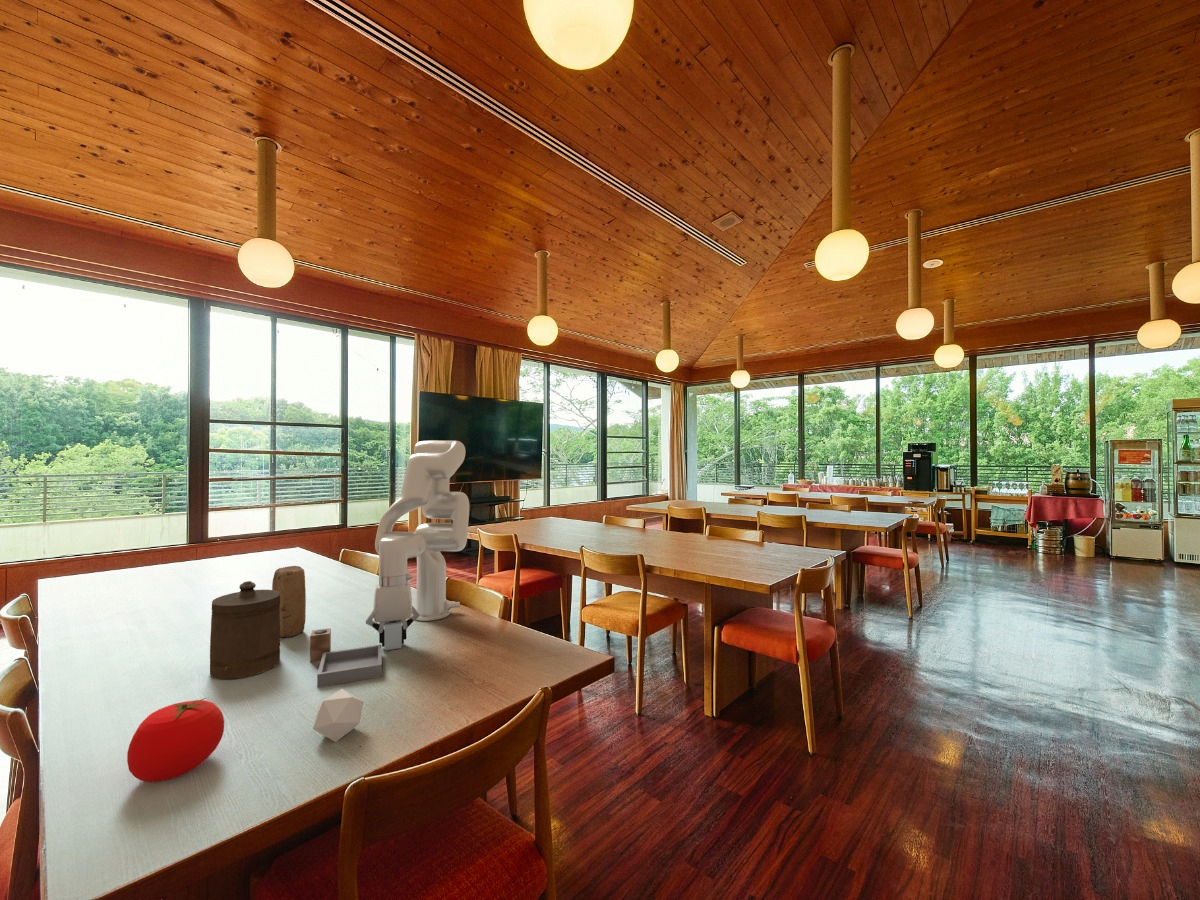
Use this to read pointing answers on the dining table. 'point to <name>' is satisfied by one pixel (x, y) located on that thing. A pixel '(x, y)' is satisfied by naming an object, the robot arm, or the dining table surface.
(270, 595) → the wooden container
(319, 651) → the walnut block
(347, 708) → the die
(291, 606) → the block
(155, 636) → the dining table surface
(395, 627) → the grey rectangular block
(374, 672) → the tray
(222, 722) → the tomato
